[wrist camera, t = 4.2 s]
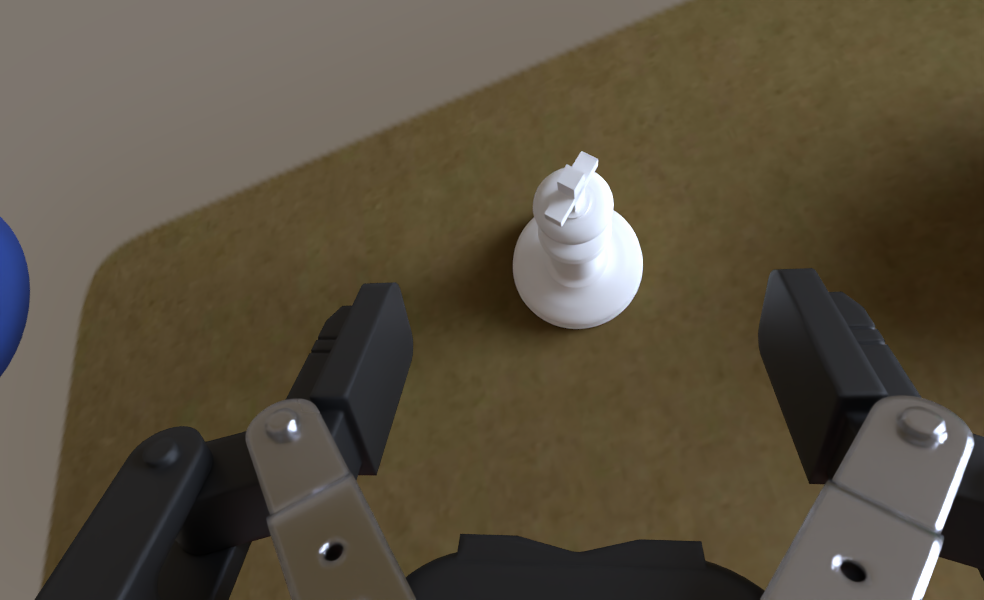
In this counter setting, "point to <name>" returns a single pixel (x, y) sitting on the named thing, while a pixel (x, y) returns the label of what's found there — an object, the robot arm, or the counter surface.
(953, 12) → the counter surface
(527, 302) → the chess piece
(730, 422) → the counter surface
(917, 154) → the counter surface
